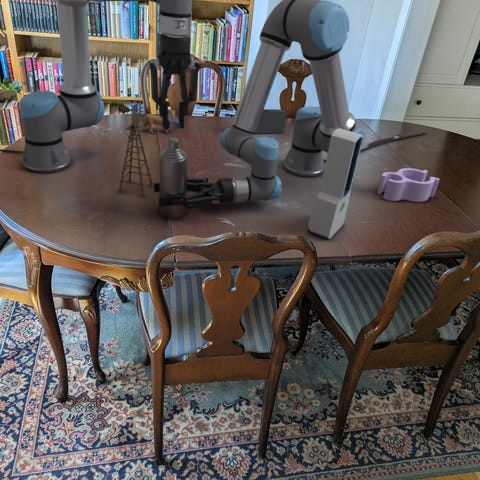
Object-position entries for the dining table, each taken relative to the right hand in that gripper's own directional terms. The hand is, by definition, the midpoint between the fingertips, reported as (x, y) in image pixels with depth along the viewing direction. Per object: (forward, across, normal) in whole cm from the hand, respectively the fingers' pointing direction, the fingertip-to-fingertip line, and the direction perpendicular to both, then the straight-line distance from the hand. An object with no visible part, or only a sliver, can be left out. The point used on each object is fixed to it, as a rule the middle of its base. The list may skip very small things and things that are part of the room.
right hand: (156, 194), depth 135 cm
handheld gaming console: (-55, +63, -6) cm, 84 cm away
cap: (-5, 0, +22) cm, 22 cm away
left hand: (-5, 0, +20) cm, 21 cm away
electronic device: (-48, -16, -6) cm, 51 cm away
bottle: (-5, 0, -6) cm, 8 cm away
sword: (-113, +50, -6) cm, 124 cm away
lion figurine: (-11, +67, -6) cm, 69 cm away
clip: (-88, +1, -6) cm, 88 cm away
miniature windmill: (+4, +16, -6) cm, 18 cm away
